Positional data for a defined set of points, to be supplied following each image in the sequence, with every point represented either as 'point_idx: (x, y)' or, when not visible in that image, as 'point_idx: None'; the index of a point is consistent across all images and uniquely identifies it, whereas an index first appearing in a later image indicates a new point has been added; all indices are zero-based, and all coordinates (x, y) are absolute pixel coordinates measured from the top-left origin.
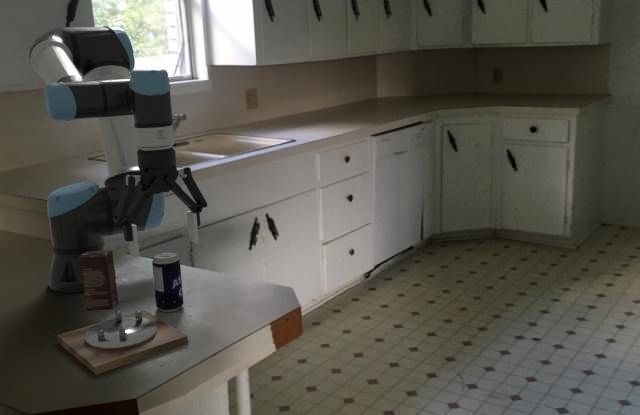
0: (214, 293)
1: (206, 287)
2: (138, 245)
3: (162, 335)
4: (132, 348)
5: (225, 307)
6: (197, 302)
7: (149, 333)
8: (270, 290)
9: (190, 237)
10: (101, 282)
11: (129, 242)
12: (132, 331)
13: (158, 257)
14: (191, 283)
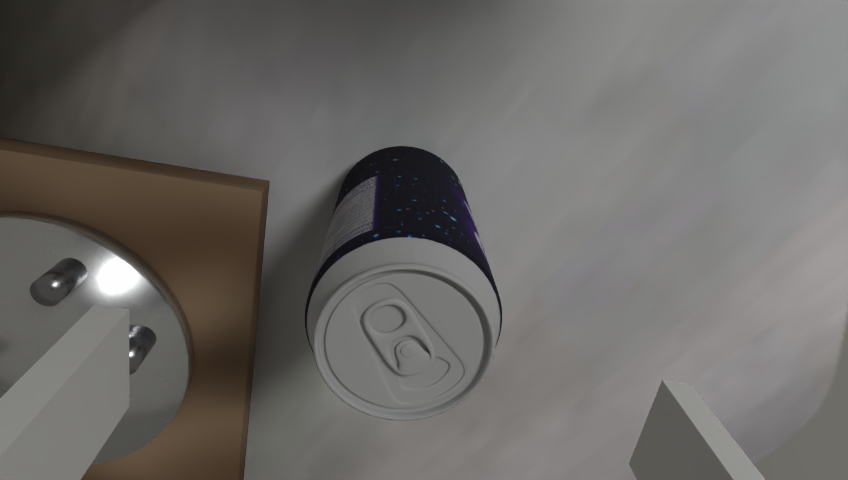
0: (645, 223)
1: (694, 130)
2: (81, 477)
3: (172, 449)
4: None
5: (541, 369)
6: (521, 244)
7: (116, 450)
8: (775, 380)
9: (669, 424)
10: None
11: (26, 383)
12: None
13: (341, 340)
14: (711, 9)
